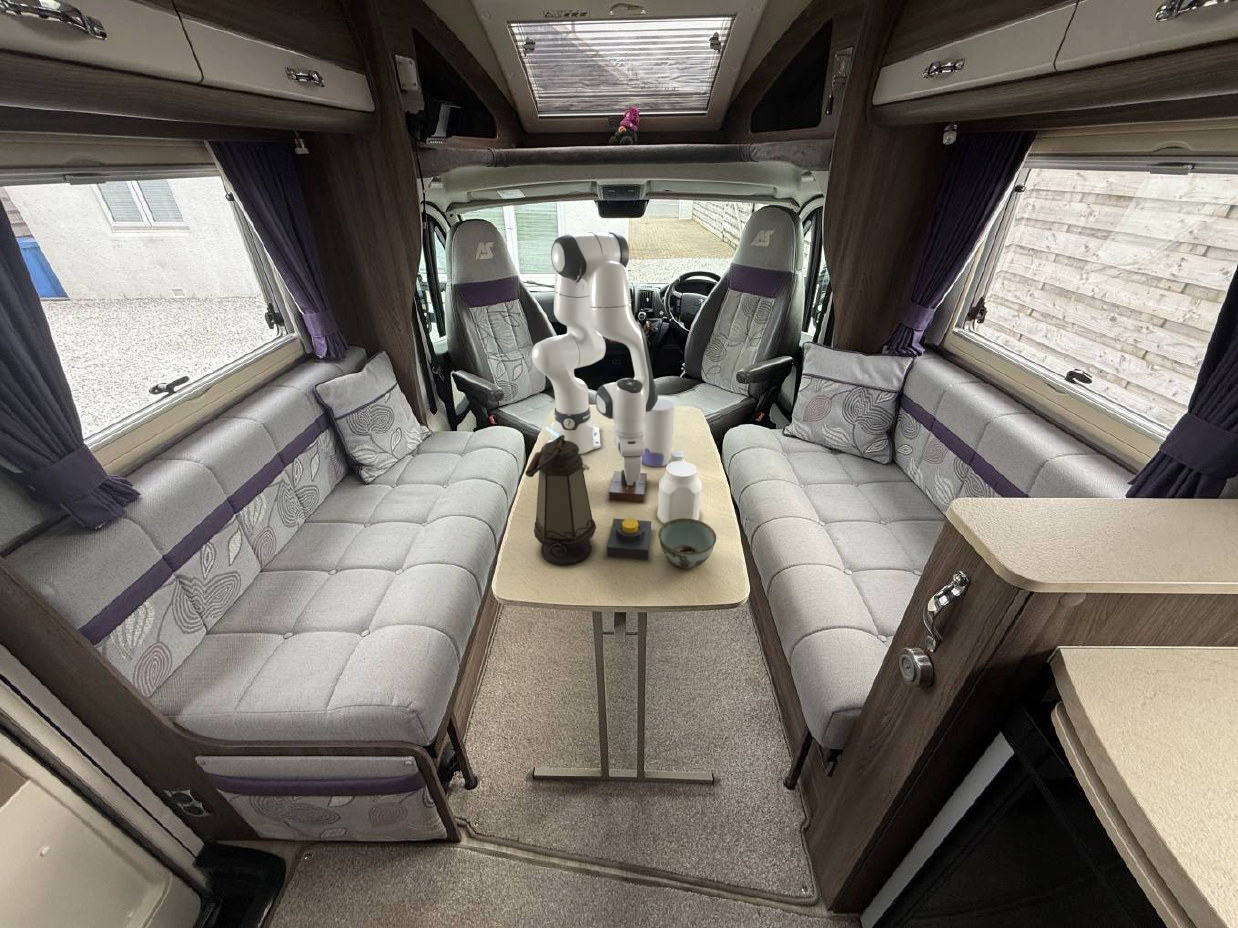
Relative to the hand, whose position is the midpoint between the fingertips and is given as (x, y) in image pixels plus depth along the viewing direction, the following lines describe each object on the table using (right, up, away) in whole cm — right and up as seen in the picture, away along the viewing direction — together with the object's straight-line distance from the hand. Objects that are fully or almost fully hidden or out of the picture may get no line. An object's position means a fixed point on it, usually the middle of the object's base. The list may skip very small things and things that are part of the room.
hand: (628, 479), depth 147 cm
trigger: (0, -12, -22) cm, 25 cm away
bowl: (+13, -19, -26) cm, 35 cm away
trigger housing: (0, -16, -20) cm, 25 cm away
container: (+9, +6, +19) cm, 22 cm away
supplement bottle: (+15, -1, +7) cm, 16 cm away
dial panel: (0, -4, +2) cm, 4 cm away
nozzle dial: (0, -1, +1) cm, 1 cm away
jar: (+14, -10, -9) cm, 19 cm away
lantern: (-16, -17, -22) cm, 32 cm away
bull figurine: (-16, -4, +1) cm, 17 cm away
